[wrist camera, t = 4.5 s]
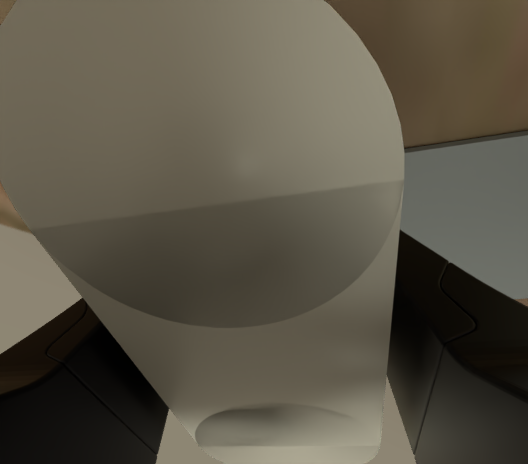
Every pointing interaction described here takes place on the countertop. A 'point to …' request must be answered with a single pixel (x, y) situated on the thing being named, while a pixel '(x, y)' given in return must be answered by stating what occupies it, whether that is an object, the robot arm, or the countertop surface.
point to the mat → (472, 206)
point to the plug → (218, 206)
